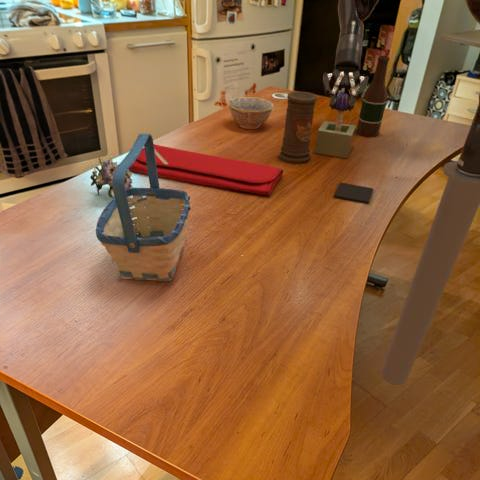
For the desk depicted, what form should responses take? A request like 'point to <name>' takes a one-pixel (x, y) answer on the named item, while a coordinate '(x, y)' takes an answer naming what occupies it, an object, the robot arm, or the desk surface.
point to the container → (298, 127)
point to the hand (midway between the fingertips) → (341, 108)
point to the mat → (353, 193)
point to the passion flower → (108, 176)
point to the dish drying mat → (210, 170)
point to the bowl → (250, 111)
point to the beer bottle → (374, 101)
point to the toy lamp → (341, 108)
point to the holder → (335, 139)
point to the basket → (144, 222)
